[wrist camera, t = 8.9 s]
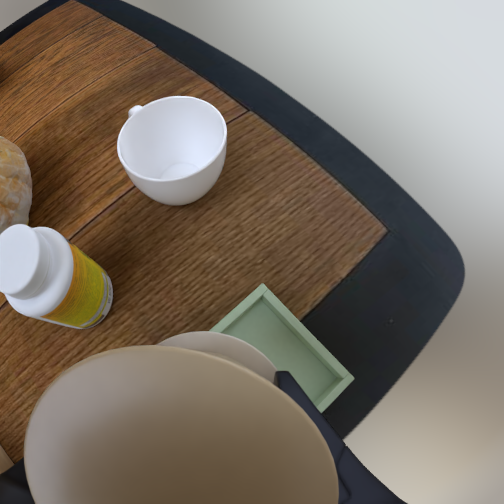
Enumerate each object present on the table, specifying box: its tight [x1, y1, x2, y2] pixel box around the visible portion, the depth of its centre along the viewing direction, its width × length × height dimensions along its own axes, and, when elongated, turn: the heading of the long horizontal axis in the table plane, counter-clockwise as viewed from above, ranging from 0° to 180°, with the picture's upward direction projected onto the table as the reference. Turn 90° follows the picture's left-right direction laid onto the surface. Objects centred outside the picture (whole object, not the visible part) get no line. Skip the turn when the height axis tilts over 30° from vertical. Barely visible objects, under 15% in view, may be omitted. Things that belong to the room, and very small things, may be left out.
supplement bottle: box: [0, 224, 113, 329], centre depth 18 cm, size 6×6×10 cm
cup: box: [117, 96, 227, 206], centre depth 24 cm, size 8×10×7 cm
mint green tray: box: [208, 283, 354, 413], centre depth 21 cm, size 9×9×3 cm
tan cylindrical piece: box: [24, 331, 339, 504], centre depth 8 cm, size 6×6×10 cm
